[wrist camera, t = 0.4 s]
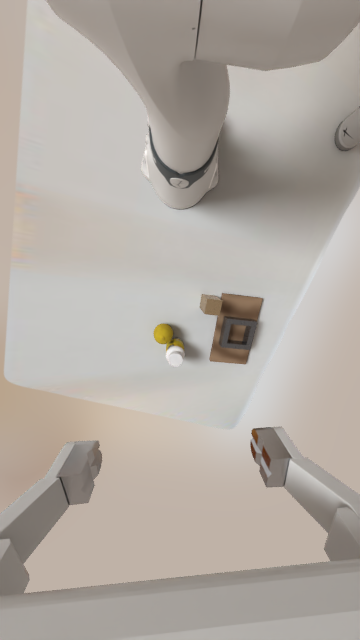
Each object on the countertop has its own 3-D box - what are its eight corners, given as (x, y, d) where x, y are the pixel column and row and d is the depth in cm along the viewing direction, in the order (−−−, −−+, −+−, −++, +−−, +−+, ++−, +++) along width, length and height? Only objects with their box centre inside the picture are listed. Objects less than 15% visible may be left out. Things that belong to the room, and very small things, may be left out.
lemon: (176, 325, 54) (176, 334, 46) (167, 340, 55) (167, 351, 47) (160, 317, 53) (158, 325, 45) (151, 332, 54) (148, 343, 46)
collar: (224, 315, 52) (227, 318, 50) (252, 319, 53) (257, 321, 50) (218, 343, 55) (221, 347, 52) (245, 345, 56) (249, 350, 53)
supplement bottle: (172, 333, 55) (173, 347, 45) (186, 343, 56) (190, 358, 46) (163, 346, 56) (161, 362, 46) (176, 355, 57) (177, 372, 47)
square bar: (201, 294, 52) (207, 298, 44) (214, 295, 52) (222, 300, 44) (199, 307, 53) (204, 313, 45) (212, 308, 53) (219, 315, 45)
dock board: (222, 293, 52) (223, 293, 51) (260, 297, 53) (262, 298, 52) (209, 359, 58) (210, 361, 57) (244, 362, 59) (245, 364, 58)
